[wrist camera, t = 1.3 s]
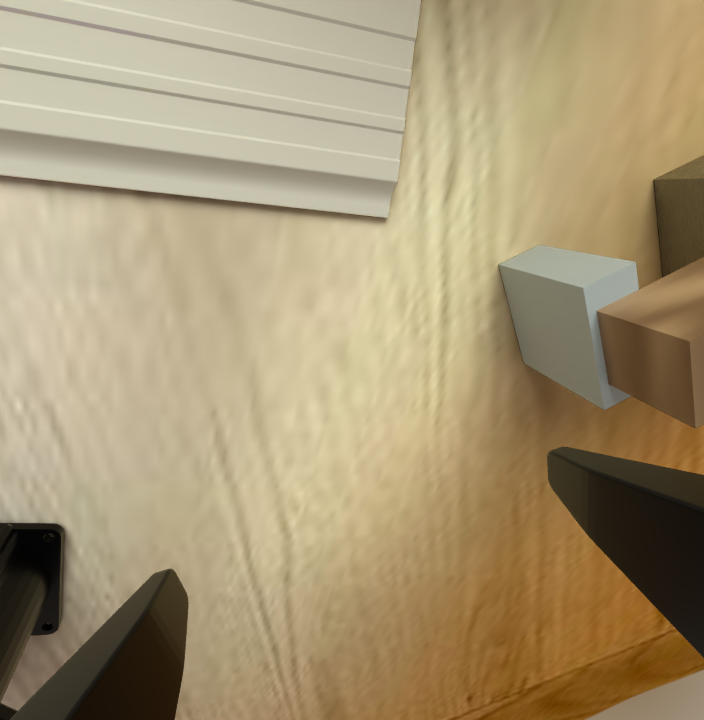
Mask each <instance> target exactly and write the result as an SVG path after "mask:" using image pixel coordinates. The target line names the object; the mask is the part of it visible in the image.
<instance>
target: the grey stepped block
mask: <svg viewBox="0 0 704 720" xmlns="http://www.w3.org/2000/svg"><path fill="white" fill-rule="evenodd" d="M654 186H655V197H656V208H657V219H658V230H659V241H660V252H661V263H662V274H663V277H665V276H667V275H669V274H671V273H673V272H675V271H677V270H679V269H681V268H683V267H685V266H687V265H689V264H691V263H693V262H695V261H697V260H699V259H701V258H703V257H704V156H702V157H700V158H698V159H696V160H694V161H691V162H689V163H687V164H685V165H683V166H681V167H679V168H677V169H675V170H673V171H671V172H669V173H666V174H664V175H662V176H660V177H658V178H656V179H654Z"/></svg>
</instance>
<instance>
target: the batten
mask: <svg viewBox="0 0 704 720" xmlns="http://www.w3.org/2000/svg"><path fill="white" fill-rule="evenodd" d="M597 317H598V323H599V329H600V336H601V342H602V348H603V354H604V360H605V366H606V372H607V378H608V384H609V385H611V386H613V387H615V388H617V389H619V390H621V391H623V392H625V393H627V394H629V395H631V396H633V397H634V398H636V399H638V400H640V401H642V402H644V403H646V404H648V405H650V406H652V407H654V408H656V409H658V410H660V411H662V412H664V413H666V414H668V415H670V416H672V417H674V418H676V419H678V420H680V421H681V422H683V423H685V424H687V425H689V426H691V427H693V428H695V429H696V428H698V427H700V426H702V425H704V257H703V258H701V259H699V260H697V261H695V262H693V263H691V264H689V265H687V266H685V267H683V268H681V269H679V270H677V271H675V272H673V273H671V274H669V275H667V276H665V277H663V278H661V279H659V280H657V281H655V282H653V283H651V284H649V285H647V286H645V287H643V288H641V289H639V290H637V291H635V292H633V293H631V294H629V295H627V296H625V297H623V298H621V299H619V300H617V301H615V302H613V303H611V304H609V305H607V306H605V307H603V308H601V309H599V310H597Z"/></svg>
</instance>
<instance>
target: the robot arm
mask: <svg viewBox="0 0 704 720" xmlns="http://www.w3.org/2000/svg"><path fill="white" fill-rule="evenodd" d="M547 465H548V480H549V483H550V486H551V488H552V489H553V491H554V492H555V493H556V495H557V496H558V497H559V499H560V500H561V501H562V502H563V504H564V505H565V506H566V508H567V509H568V510H569V512H570V513H571V514H572V516H573V517H574V518H575V520H576V521H577V522H578V524H579V525H580V526H581V527H582V529H583V530H584V531H585V532H586V534H587V535H588V536H589V537H590V538H591V539H592V540H593V542H594V543H595V544H596V545H597V546H598V547H599V548H600V549H601V550H602V551H603V552H604V553H605V554H606V555H607V556H608V557H609V558H610V560H611V561H612V562H613V563H614V564H615V565H616V566H617V567H618V568H619V569H620V570H621V571H622V572H623V573H624V574H625V575H626V576H627V577H628V579H629V580H630V581H631V582H632V583H633V584H634V585H635V586H636V587H637V588H638V589H639V590H640V591H641V592H642V593H643V594H644V595H645V596H646V597H647V599H648V600H649V601H650V602H651V603H652V604H653V605H654V606H655V607H656V608H657V609H658V610H659V611H660V612H661V613H662V614H663V615H664V616H665V618H666V619H667V620H668V621H669V622H670V623H671V624H672V625H673V626H674V627H675V628H676V629H677V630H678V631H679V632H680V633H681V634H682V635H683V636H684V638H685V639H686V640H687V641H688V642H689V643H690V644H691V645H692V646H693V647H694V648H695V649H696V650H697V651H698V652H699V653H700V654H701V655H702V657H703V658H704V475H701V474H696V473H691V472H686V471H681V470H676V469H671V468H666V467H661V466H656V465H652V464H647V463H642V462H637V461H632V460H627V459H622V458H617V457H613V456H608V455H603V454H598V453H593V452H588V451H583V450H578V449H573V448H569V447H560V448H557V449H554V450H551V451H549V452H548V455H547ZM47 534H53V535H54V536H53V537H51V536H48V535H47ZM63 548H64V530H63V528H62V527H61V526H59V525H57V524H47V523H0V720H175V714H176V709H177V704H178V698H179V693H180V687H181V682H182V676H183V670H184V660H185V647H186V633H187V619H188V596H187V593H186V591H185V589H184V587H183V585H182V583H181V581H180V580H179V578H178V576H177V574H176V572H175V571H174V570H173V569H166V570H163V571H160V572H157V573H154V574H153V575H152V576H151V577H150V578H149V579H148V580H147V581H146V582H145V583H144V584H143V585H142V586H141V587H140V588H139V589H138V590H137V591H136V592H135V593H134V594H133V595H132V596H131V597H130V598H129V599H128V600H127V601H126V602H125V603H124V604H123V605H122V606H121V607H120V608H119V609H118V610H117V611H116V612H115V613H114V614H113V615H112V616H111V617H110V618H109V619H108V620H107V621H106V622H105V623H104V624H103V626H102V627H101V628H100V629H99V630H98V631H97V632H96V633H95V634H94V635H93V636H92V637H91V638H90V639H89V640H88V641H87V642H86V643H85V644H84V645H83V646H82V647H81V648H80V649H79V650H78V651H77V652H76V653H75V654H74V655H73V656H72V657H71V658H70V659H69V660H68V661H67V662H66V663H65V664H64V665H63V666H62V667H61V668H60V669H59V670H58V671H57V672H56V673H55V674H54V675H53V676H52V677H51V678H50V679H49V680H48V681H47V682H46V683H45V684H44V685H43V686H42V687H41V688H40V689H39V690H38V691H37V692H36V693H35V694H34V695H33V696H32V697H31V698H30V699H29V700H28V701H27V702H26V704H25V705H24V706H23V707H22V708H21V709H20V710H19V711H17V710H15V709H12V708H10V707H8V706H6V705H4V704H2V703H1V701H2V699H3V696H4V694H5V692H6V690H7V687H8V685H9V683H10V680H11V678H12V676H13V674H14V671H15V669H16V667H17V665H18V662H19V660H20V658H21V656H22V653H23V651H24V649H25V647H26V644H27V642H28V640H29V637H30V636H31V635H48V634H52V633H54V632H56V631H57V630H58V627H59V625H60V622H61V611H62V580H63ZM47 623H50V624H47Z"/></svg>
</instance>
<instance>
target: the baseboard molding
mask: <svg viewBox="0 0 704 720" xmlns="http://www.w3.org/2000/svg"><path fill="white" fill-rule="evenodd" d="M420 6H421V0H0V175H2V176H11V177H20V178H29V179H38V180H47V181H56V182H65V183H74V184H83V185H92V186H101V187H110V188H119V189H128V190H138V191H147V192H156V193H165V194H174V195H183V196H192V197H201V198H210V199H219V200H228V201H237V202H246V203H255V204H264V205H273V206H282V207H291V208H300V209H309V210H318V211H327V212H336V213H345V214H355V215H364V216H373V217H382V218H388V217H389V209H390V202H391V197H392V194H393V191H394V188H395V186H396V184H397V182H398V174H399V167H400V154H401V146H402V138H403V133H404V129H405V115H406V108H407V100H408V92H409V88H410V83H411V75H412V71H411V69H412V62H413V54H414V46H415V41H416V37H417V29H418V21H419V14H420Z"/></svg>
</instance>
